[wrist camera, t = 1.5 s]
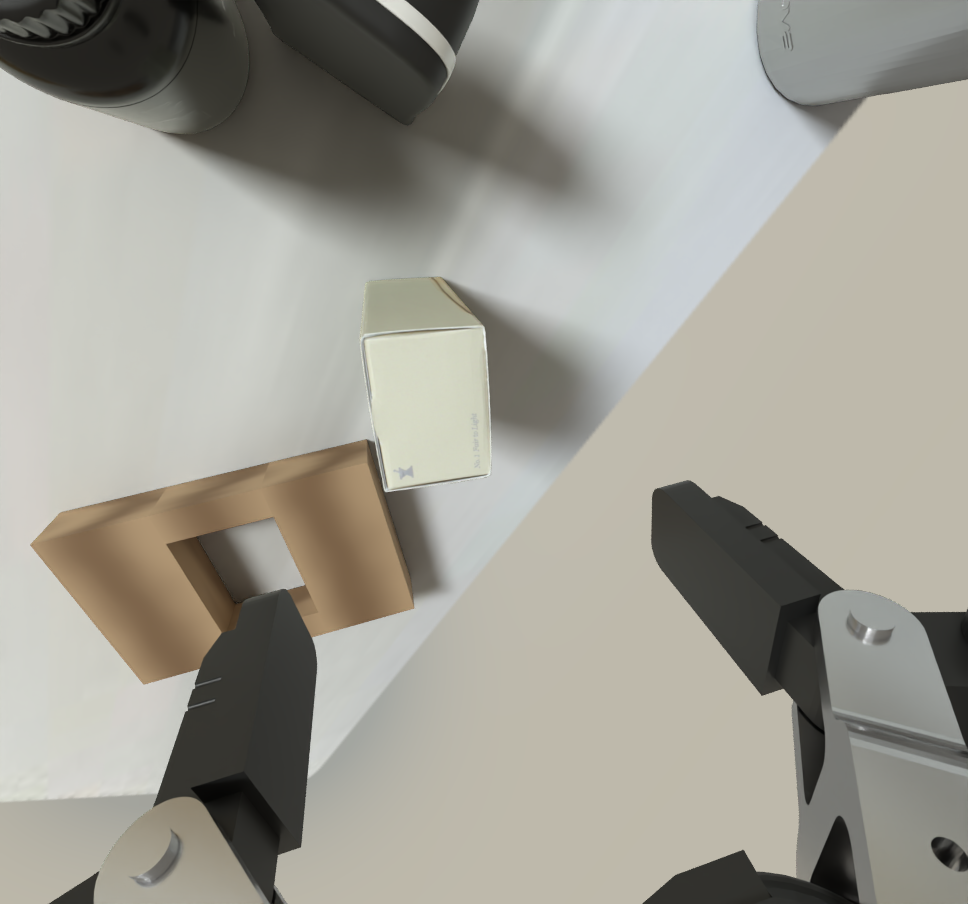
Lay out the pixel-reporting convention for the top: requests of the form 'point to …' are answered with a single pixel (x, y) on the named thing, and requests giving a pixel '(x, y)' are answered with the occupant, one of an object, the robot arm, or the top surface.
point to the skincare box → (425, 383)
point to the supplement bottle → (131, 57)
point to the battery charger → (378, 45)
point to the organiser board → (190, 574)
